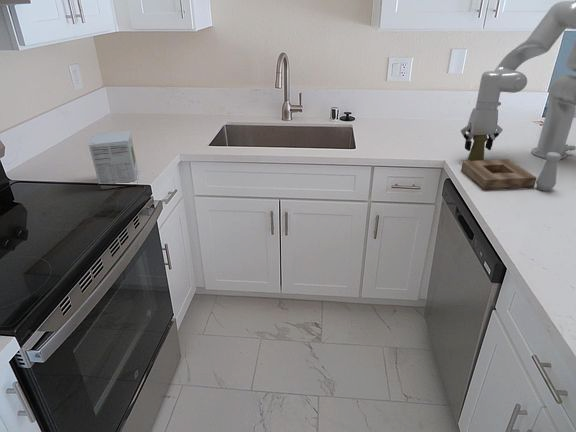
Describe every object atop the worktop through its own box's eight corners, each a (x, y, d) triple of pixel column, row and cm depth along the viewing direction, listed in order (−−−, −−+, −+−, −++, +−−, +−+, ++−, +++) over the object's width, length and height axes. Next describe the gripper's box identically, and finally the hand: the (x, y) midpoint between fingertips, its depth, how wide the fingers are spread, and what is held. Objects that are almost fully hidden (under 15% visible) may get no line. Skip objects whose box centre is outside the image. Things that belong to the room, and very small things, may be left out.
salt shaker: (547, 185, 147) (557, 150, 140) (557, 192, 142) (568, 155, 135) (531, 185, 147) (540, 150, 140) (540, 192, 142) (550, 156, 135)
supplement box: (137, 186, 154) (128, 140, 146) (99, 191, 151) (87, 144, 143) (139, 173, 165) (130, 130, 157) (104, 177, 162) (93, 133, 154)
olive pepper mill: (466, 161, 169) (471, 134, 164) (468, 156, 174) (473, 130, 168) (482, 163, 166) (488, 136, 161) (484, 158, 171) (489, 132, 166)
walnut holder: (506, 168, 161) (508, 159, 159) (533, 188, 145) (536, 177, 143) (460, 171, 160) (462, 161, 158) (483, 190, 144) (485, 179, 142)
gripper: (503, 102, 163) (494, 145, 172) (460, 104, 162) (452, 147, 171) (514, 107, 157) (503, 151, 165) (468, 108, 156) (460, 153, 164)
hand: (477, 149), depth 168 cm, fingers open, 7 cm apart
